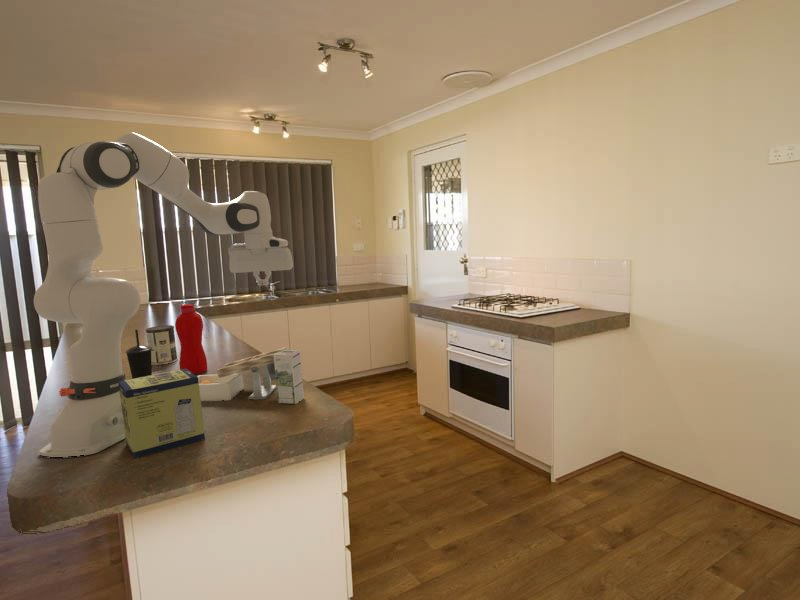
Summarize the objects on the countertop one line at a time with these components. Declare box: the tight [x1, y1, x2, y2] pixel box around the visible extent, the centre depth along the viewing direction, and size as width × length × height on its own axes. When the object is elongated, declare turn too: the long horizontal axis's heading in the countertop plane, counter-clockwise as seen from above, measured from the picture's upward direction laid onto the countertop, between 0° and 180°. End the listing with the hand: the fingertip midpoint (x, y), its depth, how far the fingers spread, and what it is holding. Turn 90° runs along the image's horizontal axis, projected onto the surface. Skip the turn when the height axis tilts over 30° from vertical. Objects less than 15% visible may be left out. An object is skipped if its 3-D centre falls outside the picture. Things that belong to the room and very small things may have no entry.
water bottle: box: [174, 303, 210, 375], centre depth 180 cm, size 9×11×25 cm
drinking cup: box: [125, 329, 153, 379], centre depth 160 cm, size 8×8×20 cm
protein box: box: [118, 369, 206, 459], centre depth 116 cm, size 10×16×16 cm
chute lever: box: [215, 346, 288, 382], centre depth 154 cm, size 20×14×8 cm
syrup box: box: [274, 349, 305, 405], centre depth 141 cm, size 6×6×14 cm
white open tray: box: [196, 372, 245, 402], centre depth 152 cm, size 11×14×5 cm
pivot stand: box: [248, 365, 277, 400], centre depth 151 cm, size 12×5×10 cm, turn 177°
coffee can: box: [145, 324, 179, 366], centre depth 200 cm, size 10×10×14 cm
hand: (263, 285), depth 162 cm, fingers closed
